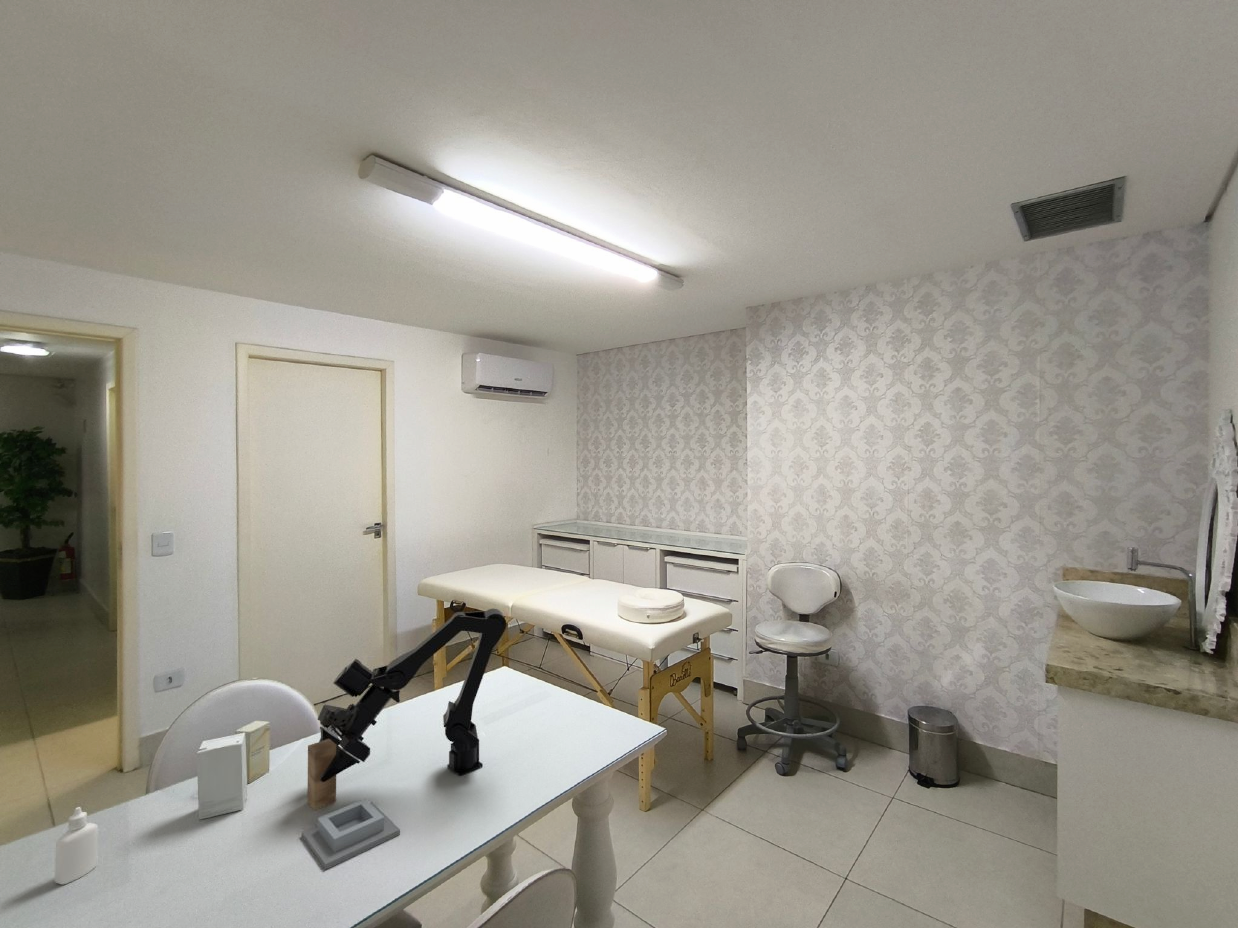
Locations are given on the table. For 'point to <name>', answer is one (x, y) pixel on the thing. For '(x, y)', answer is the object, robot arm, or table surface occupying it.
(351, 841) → the housing
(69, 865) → the eye dropper bottle
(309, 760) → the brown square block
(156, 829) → the table surface
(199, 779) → the skincare box
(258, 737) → the skincare box
